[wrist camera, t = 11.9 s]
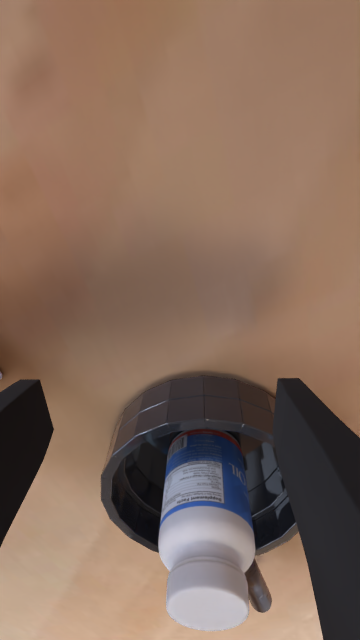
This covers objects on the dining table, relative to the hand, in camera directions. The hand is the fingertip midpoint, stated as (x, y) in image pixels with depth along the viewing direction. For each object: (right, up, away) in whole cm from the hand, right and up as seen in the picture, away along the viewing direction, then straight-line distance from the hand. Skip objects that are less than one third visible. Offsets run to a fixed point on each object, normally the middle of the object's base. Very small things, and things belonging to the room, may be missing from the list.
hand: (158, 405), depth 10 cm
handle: (+6, -17, +17) cm, 25 cm away
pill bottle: (+3, -7, +15) cm, 16 cm away
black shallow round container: (+3, -7, +15) cm, 17 cm away
